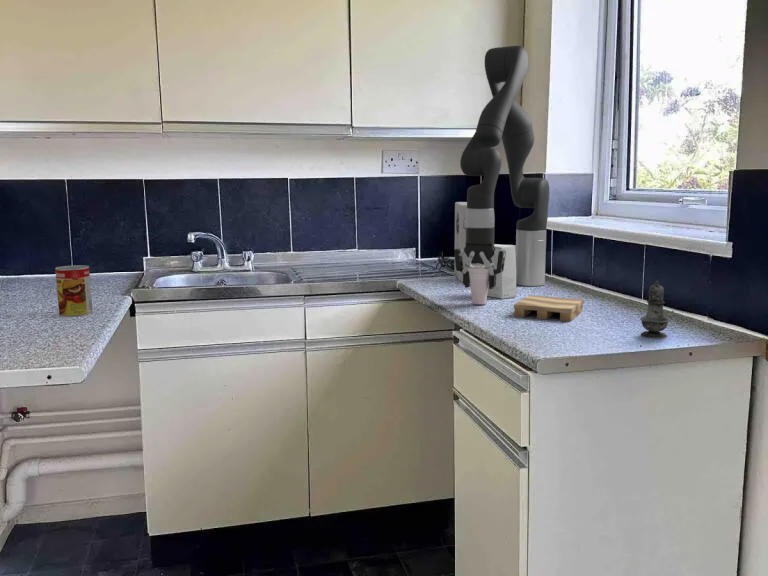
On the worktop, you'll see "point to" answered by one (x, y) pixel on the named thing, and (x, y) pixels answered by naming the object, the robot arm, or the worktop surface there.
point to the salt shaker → (655, 314)
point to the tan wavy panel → (549, 307)
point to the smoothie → (479, 283)
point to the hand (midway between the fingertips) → (479, 287)
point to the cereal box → (461, 234)
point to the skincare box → (505, 274)
